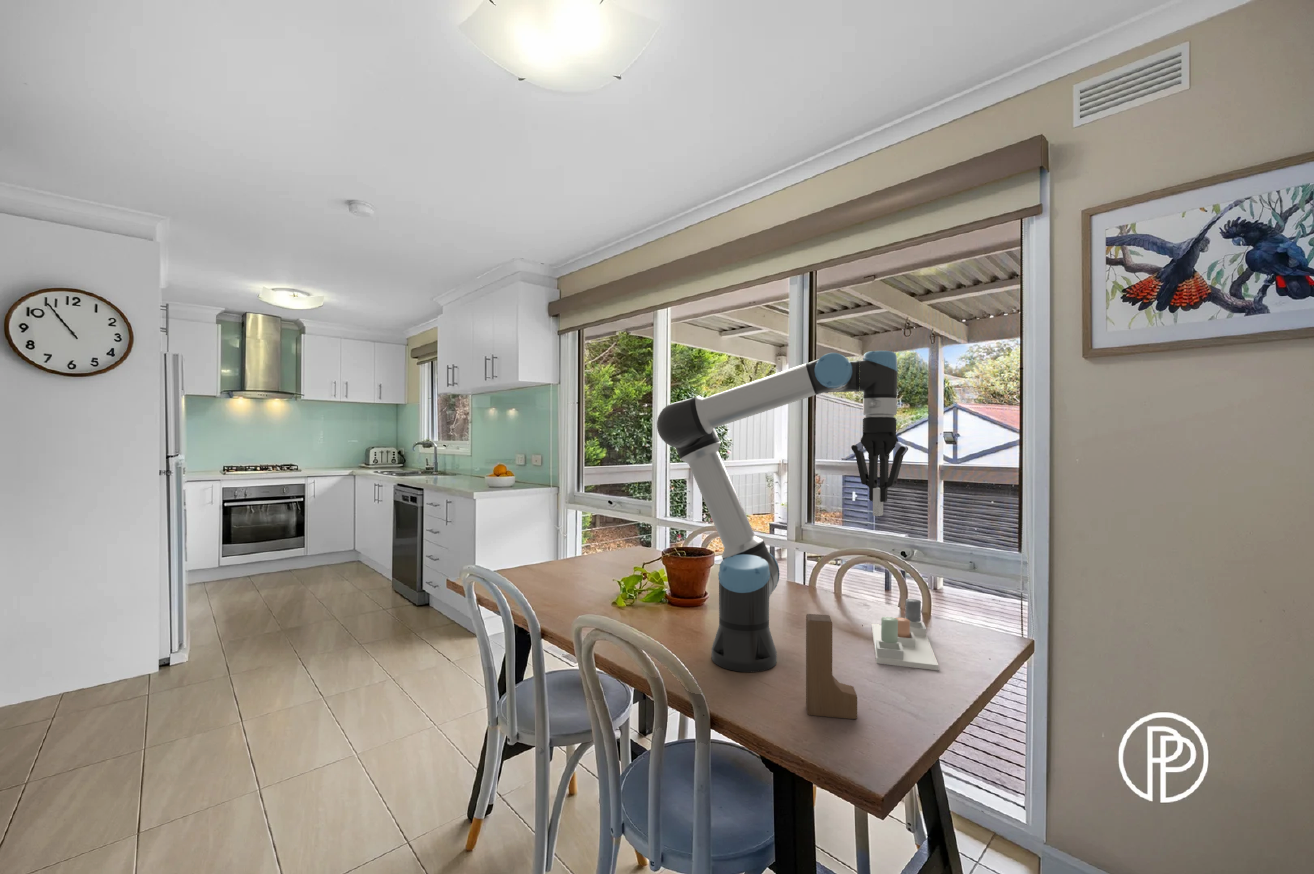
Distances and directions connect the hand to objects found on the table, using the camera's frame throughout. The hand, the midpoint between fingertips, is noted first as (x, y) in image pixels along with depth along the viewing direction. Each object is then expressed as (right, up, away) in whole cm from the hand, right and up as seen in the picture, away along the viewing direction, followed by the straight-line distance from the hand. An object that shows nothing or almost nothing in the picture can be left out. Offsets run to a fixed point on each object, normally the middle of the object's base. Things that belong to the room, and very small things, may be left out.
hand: (877, 515), depth 136 cm
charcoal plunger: (+14, -29, +13) cm, 35 cm away
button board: (+8, -34, +5) cm, 35 cm away
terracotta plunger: (+8, -32, +5) cm, 33 cm away
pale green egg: (+2, -29, -2) cm, 29 cm away
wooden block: (-20, -34, -28) cm, 48 cm away
